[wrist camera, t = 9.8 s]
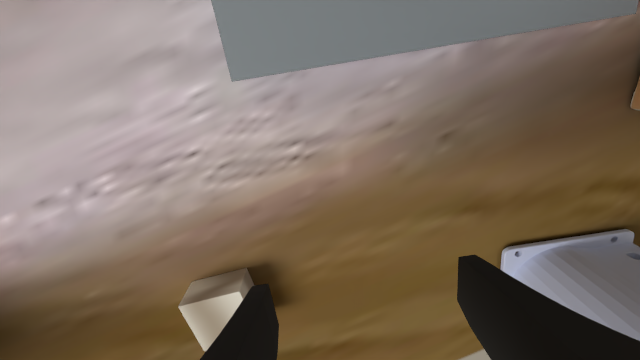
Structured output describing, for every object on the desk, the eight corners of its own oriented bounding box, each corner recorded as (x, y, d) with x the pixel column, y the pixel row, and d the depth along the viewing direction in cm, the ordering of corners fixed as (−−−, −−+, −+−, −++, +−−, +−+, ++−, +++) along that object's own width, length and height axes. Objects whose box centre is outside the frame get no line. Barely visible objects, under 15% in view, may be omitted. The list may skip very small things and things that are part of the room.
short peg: (246, 267, 22) (239, 291, 20) (265, 311, 24) (261, 337, 21) (191, 281, 22) (178, 306, 20) (214, 323, 24) (204, 351, 22)
